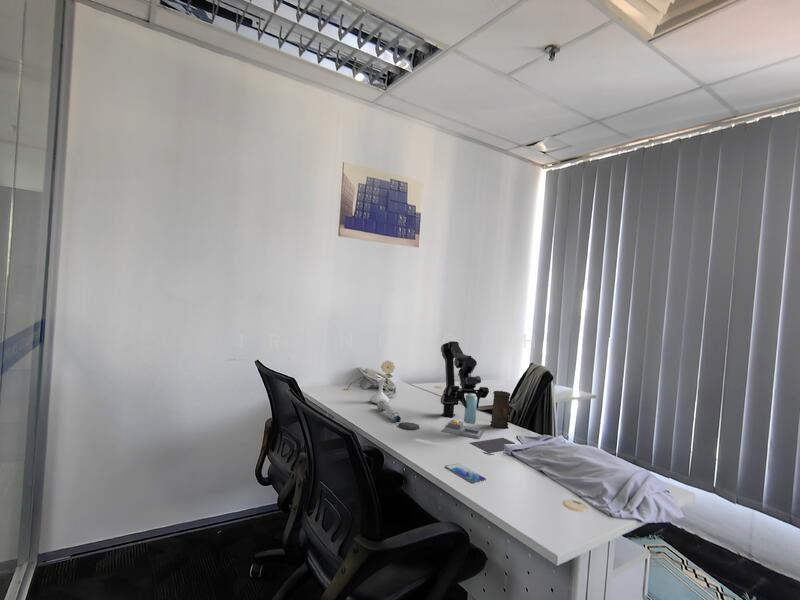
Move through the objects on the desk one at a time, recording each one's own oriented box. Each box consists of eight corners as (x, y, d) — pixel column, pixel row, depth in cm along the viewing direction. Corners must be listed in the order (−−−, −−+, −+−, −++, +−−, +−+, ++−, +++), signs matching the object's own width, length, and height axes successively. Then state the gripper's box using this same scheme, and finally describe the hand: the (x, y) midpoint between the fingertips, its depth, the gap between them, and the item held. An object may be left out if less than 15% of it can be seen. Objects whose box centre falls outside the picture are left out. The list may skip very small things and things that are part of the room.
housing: (449, 425, 209) (449, 419, 209) (485, 432, 202) (485, 425, 202) (440, 433, 194) (440, 427, 194) (479, 441, 187) (479, 434, 187)
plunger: (453, 424, 206) (453, 419, 206) (459, 425, 205) (459, 420, 205) (451, 426, 203) (451, 421, 203) (457, 427, 202) (458, 422, 202)
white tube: (392, 415, 204) (376, 396, 227) (391, 428, 205) (375, 407, 228) (402, 415, 206) (385, 396, 229) (401, 428, 207) (384, 407, 230)
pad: (402, 422, 207) (402, 421, 207) (422, 426, 203) (422, 424, 203) (395, 427, 198) (395, 426, 198) (415, 431, 194) (415, 430, 194)
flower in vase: (367, 404, 236) (371, 360, 236) (372, 399, 248) (375, 357, 247) (390, 406, 234) (393, 362, 234) (393, 402, 245) (397, 359, 245)
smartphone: (458, 463, 159) (487, 478, 147) (458, 465, 159) (486, 481, 147) (444, 465, 155) (472, 482, 143) (443, 467, 155) (471, 484, 143)
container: (488, 428, 208) (491, 392, 208) (491, 424, 216) (494, 389, 216) (506, 432, 205) (509, 395, 205) (509, 427, 213) (512, 392, 213)
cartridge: (465, 419, 197) (467, 392, 197) (476, 421, 195) (478, 394, 195) (462, 422, 193) (465, 394, 193) (473, 424, 191) (476, 396, 191)
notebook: (503, 440, 193) (467, 446, 181) (503, 437, 193) (468, 442, 181) (524, 450, 182) (488, 457, 171) (524, 446, 182) (488, 453, 171)
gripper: (451, 368, 196) (457, 397, 185) (489, 370, 199) (496, 399, 189) (445, 381, 204) (450, 410, 193) (481, 383, 207) (488, 411, 196)
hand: (471, 407), depth 193 cm, fingers closed on cartridge, 5 cm apart
